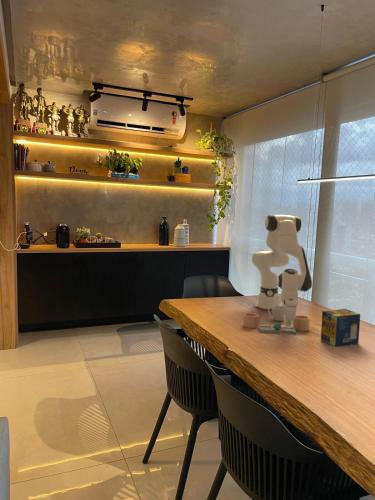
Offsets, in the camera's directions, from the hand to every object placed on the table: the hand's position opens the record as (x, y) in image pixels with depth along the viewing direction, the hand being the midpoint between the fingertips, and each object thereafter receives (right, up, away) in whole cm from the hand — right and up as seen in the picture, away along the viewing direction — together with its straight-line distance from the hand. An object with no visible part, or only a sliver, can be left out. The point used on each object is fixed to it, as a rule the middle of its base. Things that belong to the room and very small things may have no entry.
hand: (288, 323), depth 204 cm
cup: (-1, -2, +23) cm, 23 cm away
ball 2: (0, +1, 0) cm, 1 cm away
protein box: (+22, -7, -15) cm, 27 cm away
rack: (-6, -4, +1) cm, 7 cm away
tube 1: (-19, -3, +9) cm, 21 cm away
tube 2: (+9, -4, +6) cm, 11 cm away
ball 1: (-6, -1, 0) cm, 6 cm away
